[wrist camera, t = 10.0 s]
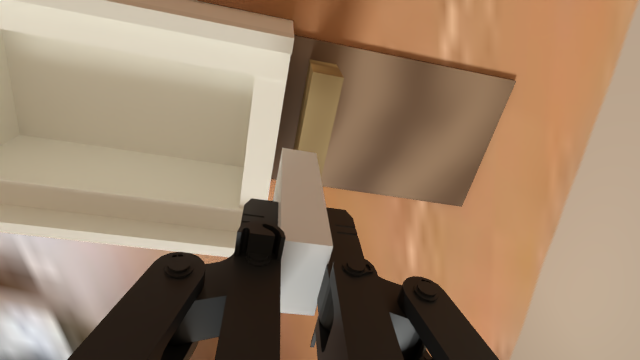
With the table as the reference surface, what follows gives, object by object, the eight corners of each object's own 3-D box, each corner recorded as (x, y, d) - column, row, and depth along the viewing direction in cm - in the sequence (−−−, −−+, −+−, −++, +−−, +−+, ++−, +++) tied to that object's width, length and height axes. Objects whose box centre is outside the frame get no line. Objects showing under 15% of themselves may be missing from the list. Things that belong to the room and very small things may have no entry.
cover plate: (270, 173, 26) (266, 206, 22) (292, 33, 22) (292, 44, 18) (457, 200, 28) (483, 234, 24) (509, 78, 24) (550, 96, 20)
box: (10, 154, 24) (-97, 221, 17) (-28, -47, 19) (-199, -61, 12) (266, 190, 26) (258, 260, 19) (292, 20, 21) (294, 38, 15)
